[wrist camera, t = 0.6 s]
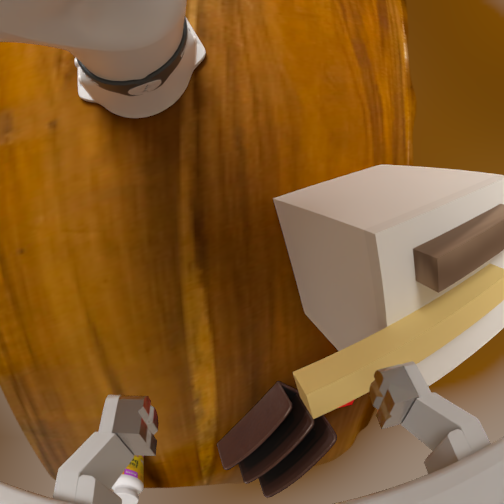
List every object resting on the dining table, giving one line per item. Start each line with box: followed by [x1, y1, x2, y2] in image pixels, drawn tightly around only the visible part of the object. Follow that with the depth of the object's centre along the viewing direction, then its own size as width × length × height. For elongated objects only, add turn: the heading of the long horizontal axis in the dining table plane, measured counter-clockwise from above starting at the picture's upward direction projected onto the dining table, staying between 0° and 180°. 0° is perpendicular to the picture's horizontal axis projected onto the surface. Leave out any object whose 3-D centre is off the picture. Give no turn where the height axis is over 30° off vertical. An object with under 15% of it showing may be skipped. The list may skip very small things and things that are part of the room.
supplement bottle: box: [112, 455, 144, 504], centre depth 47 cm, size 7×7×13 cm
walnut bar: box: [413, 204, 504, 293], centre depth 24 cm, size 3×14×3 cm, turn 107°
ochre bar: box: [292, 264, 504, 419], centre depth 25 cm, size 3×24×3 cm, turn 107°
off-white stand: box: [273, 165, 504, 386], centre depth 39 cm, size 20×20×26 cm
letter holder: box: [217, 381, 337, 497], centre depth 52 cm, size 10×20×14 cm, turn 141°
